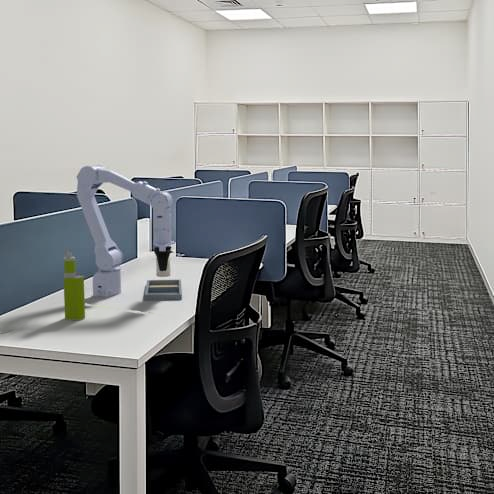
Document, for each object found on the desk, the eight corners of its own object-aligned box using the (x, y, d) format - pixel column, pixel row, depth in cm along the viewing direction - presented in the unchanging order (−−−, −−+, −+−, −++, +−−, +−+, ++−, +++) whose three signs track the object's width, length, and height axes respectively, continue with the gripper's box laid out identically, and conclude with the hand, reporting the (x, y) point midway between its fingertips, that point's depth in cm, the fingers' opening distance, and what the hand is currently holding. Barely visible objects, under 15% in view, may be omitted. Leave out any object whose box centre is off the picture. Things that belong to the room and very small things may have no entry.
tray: (181, 301, 223) (181, 294, 223) (144, 302, 222) (144, 295, 221) (181, 286, 247) (180, 279, 246) (147, 286, 245) (147, 280, 245)
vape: (67, 316, 204) (65, 250, 201) (86, 316, 204) (84, 250, 201) (62, 319, 201) (60, 252, 198) (82, 320, 200) (79, 252, 197)
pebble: (165, 277, 224) (164, 259, 223) (153, 276, 226) (153, 258, 225) (173, 275, 228) (172, 257, 227) (161, 273, 230) (161, 256, 229)
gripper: (174, 231, 218) (175, 273, 220) (174, 225, 232) (175, 265, 235) (152, 231, 217) (153, 273, 220) (153, 226, 232) (154, 265, 234)
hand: (163, 269), depth 227 cm, fingers closed on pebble, 5 cm apart
